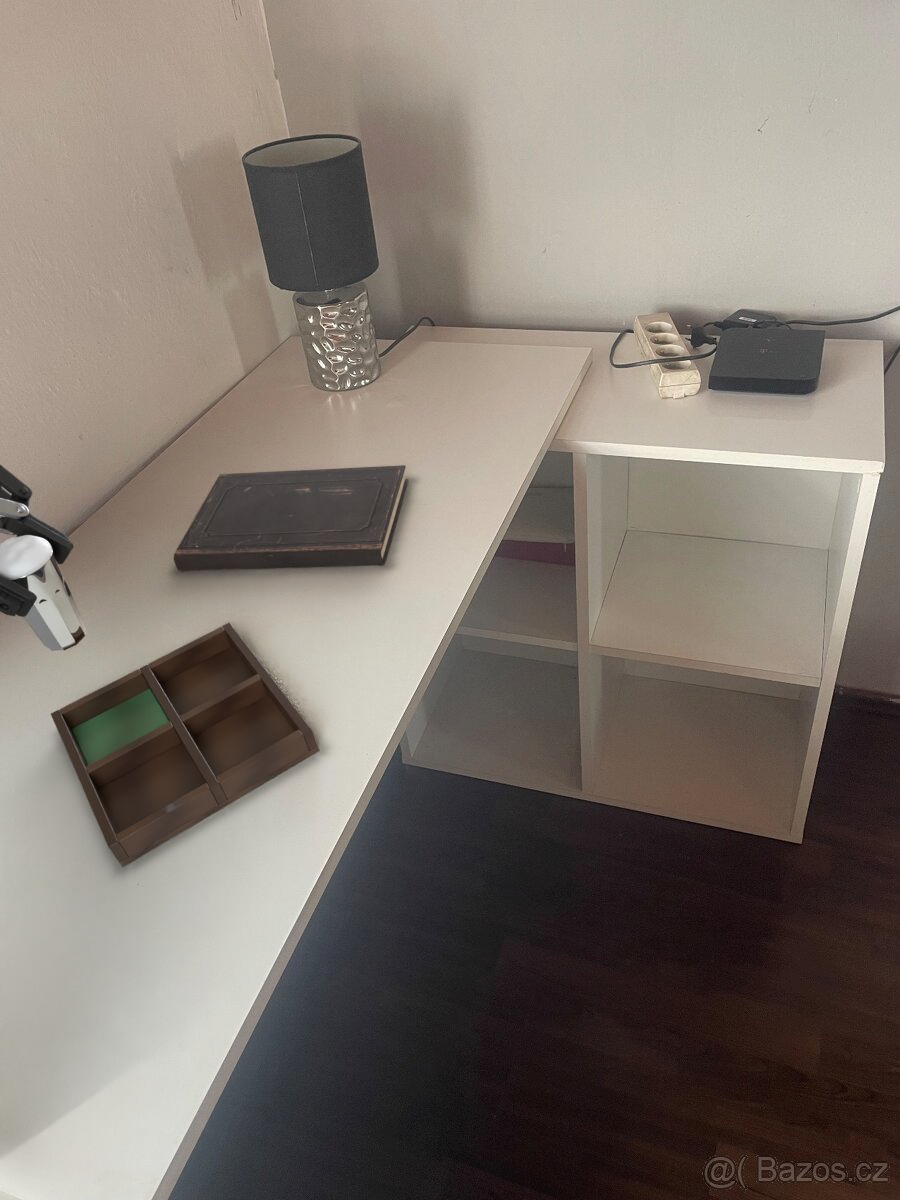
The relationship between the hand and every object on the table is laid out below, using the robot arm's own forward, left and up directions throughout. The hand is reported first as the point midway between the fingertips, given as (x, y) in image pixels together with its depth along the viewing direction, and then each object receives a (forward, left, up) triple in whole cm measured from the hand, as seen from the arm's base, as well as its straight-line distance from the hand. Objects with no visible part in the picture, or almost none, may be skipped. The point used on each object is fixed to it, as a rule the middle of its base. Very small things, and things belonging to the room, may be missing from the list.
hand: (49, 579), depth 63 cm
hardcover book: (+25, +20, -19) cm, 37 cm away
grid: (+3, -2, -19) cm, 20 cm away
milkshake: (-1, +1, -6) cm, 7 cm away
